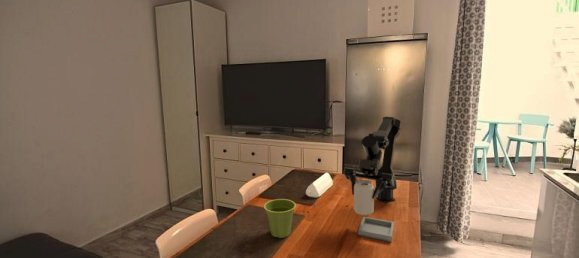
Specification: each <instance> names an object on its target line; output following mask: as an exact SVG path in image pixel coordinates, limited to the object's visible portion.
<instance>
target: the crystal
mask: <svg viewBox="0 0 579 258" xmlns="http://www.w3.org/2000/svg"><path fill="white" fill-rule="evenodd" d="M333 181H334V180H333V179H332V177H331V175H330V173H328V172H324V174H322V175H321V176H319V178H317V179H316V180H314V181H313V182H312V183H310V185H308V187H307V188H306V190H305V195H306V196H308V197H310V198H320V196H322V195H324V193H325V192H327V190H328V189H330V188H331V187H332V186H333V184H334V182H333Z"/></svg>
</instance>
